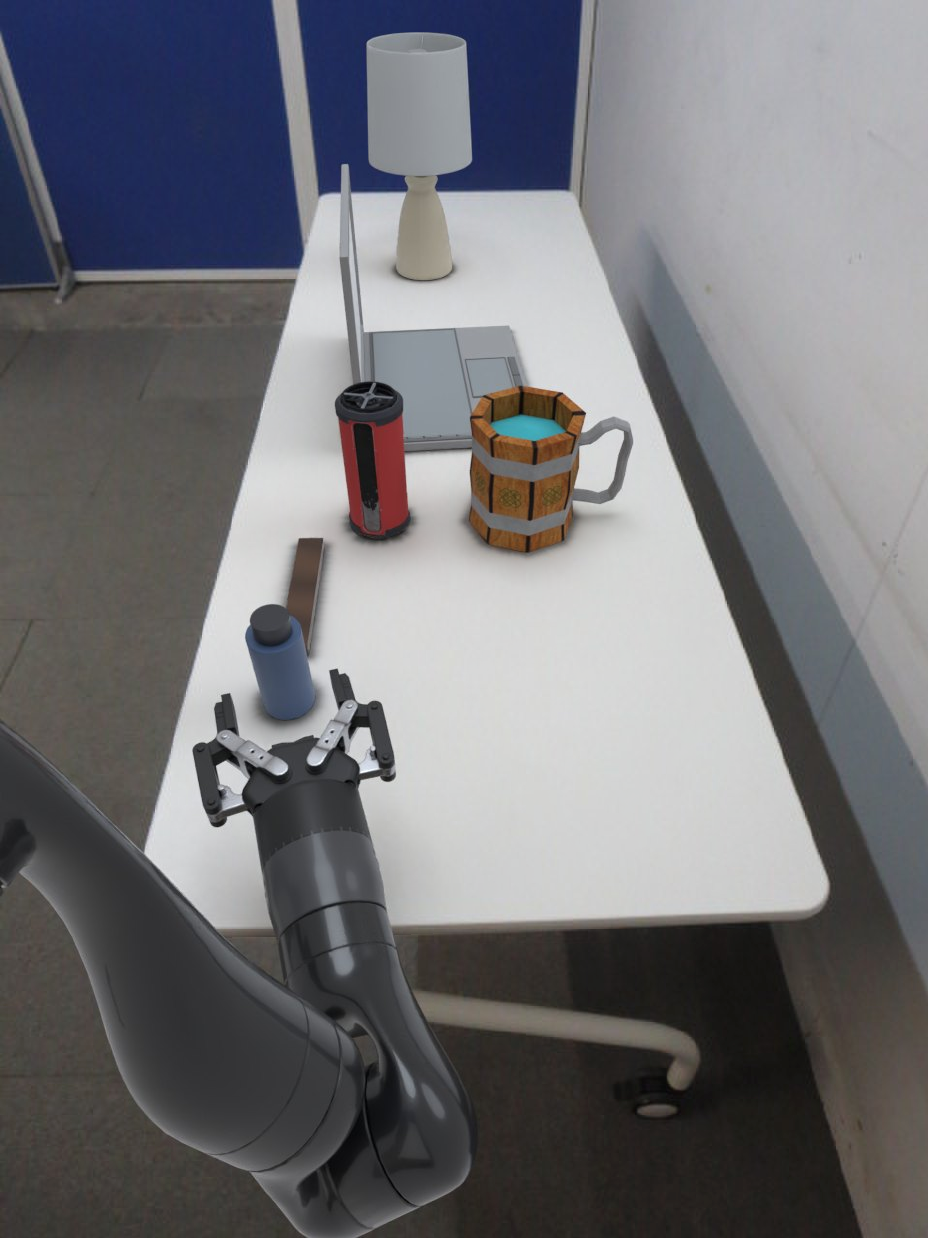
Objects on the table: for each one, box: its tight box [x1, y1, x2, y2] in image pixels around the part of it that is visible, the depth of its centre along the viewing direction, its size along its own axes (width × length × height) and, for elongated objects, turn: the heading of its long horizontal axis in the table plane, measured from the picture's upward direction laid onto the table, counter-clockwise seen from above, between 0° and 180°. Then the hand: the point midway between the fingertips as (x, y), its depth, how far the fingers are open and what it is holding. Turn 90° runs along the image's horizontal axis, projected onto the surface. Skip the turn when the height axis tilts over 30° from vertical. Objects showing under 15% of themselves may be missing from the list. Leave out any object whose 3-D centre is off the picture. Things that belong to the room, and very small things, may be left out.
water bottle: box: [244, 603, 316, 721], centre depth 78 cm, size 5×5×12 cm
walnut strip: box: [285, 537, 326, 656], centre depth 92 cm, size 18×3×2 cm, turn 2°
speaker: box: [334, 381, 411, 539], centre depth 96 cm, size 8×8×18 cm
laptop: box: [338, 163, 529, 452], centre depth 116 cm, size 35×26×27 cm
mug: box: [468, 386, 634, 553], centre depth 98 cm, size 20×14×15 cm
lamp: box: [366, 32, 473, 281], centre depth 145 cm, size 19×19×37 cm
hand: (281, 687), depth 64 cm, fingers open, 8 cm apart
